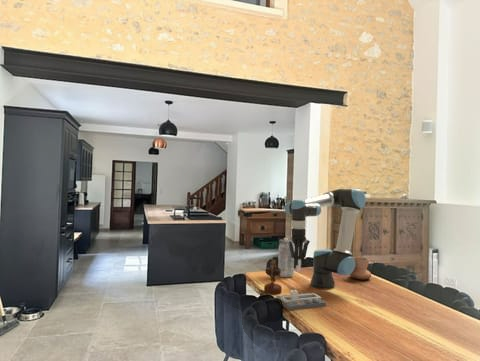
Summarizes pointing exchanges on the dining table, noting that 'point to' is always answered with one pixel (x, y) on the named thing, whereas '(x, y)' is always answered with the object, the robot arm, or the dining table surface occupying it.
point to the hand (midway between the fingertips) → (298, 271)
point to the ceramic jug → (361, 268)
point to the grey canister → (285, 259)
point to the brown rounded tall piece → (273, 279)
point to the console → (302, 301)
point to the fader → (293, 294)
